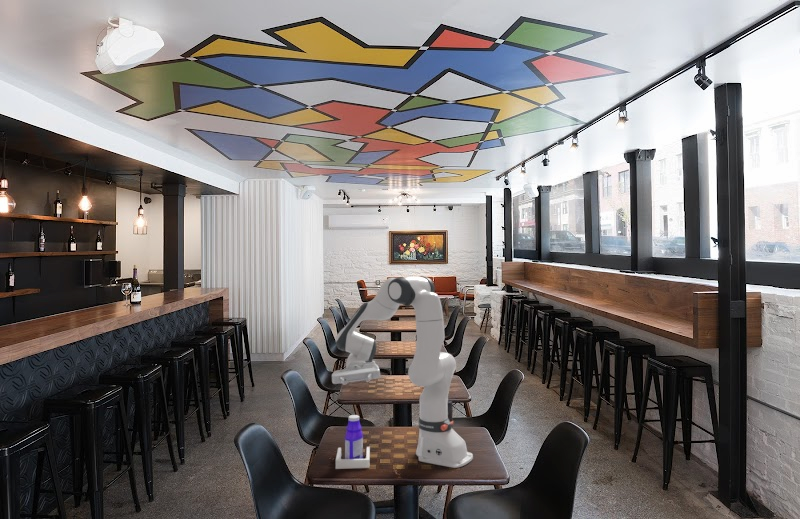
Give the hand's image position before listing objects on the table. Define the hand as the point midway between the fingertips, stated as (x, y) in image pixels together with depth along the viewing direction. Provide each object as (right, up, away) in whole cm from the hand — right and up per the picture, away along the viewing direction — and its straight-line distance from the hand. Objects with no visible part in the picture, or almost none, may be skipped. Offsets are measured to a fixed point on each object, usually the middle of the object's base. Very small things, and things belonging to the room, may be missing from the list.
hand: (356, 381), depth 194 cm
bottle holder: (0, -28, -12) cm, 30 cm away
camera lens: (+37, -27, +16) cm, 49 cm away
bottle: (0, -28, -12) cm, 30 cm away
